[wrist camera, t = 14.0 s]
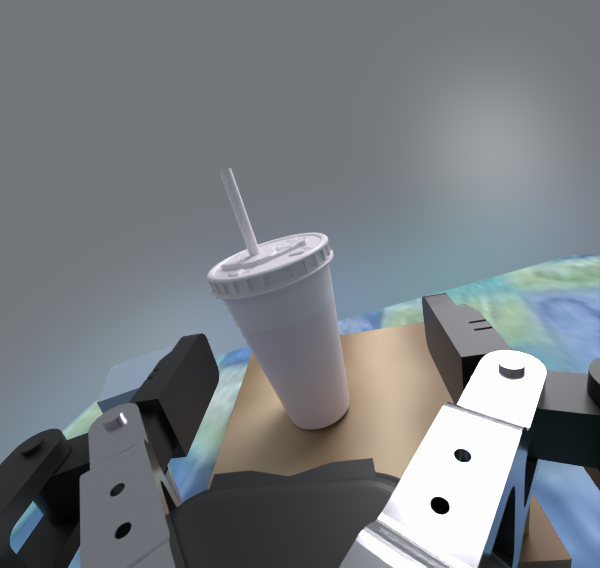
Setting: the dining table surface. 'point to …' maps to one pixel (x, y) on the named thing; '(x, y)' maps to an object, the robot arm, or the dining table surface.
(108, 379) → the slate cube
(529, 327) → the dining table surface
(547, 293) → the dining table surface
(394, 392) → the plinth
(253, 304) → the smoothie
